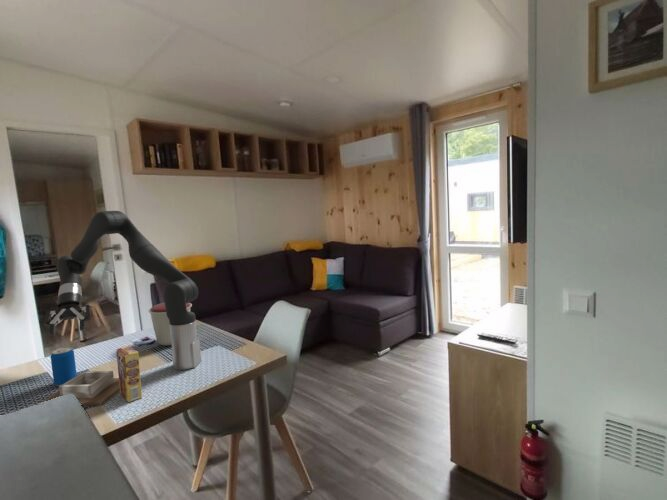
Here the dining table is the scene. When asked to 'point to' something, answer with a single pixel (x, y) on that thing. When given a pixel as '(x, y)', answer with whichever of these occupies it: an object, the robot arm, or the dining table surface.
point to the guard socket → (90, 388)
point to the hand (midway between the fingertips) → (67, 332)
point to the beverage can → (63, 365)
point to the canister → (162, 323)
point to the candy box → (129, 373)
